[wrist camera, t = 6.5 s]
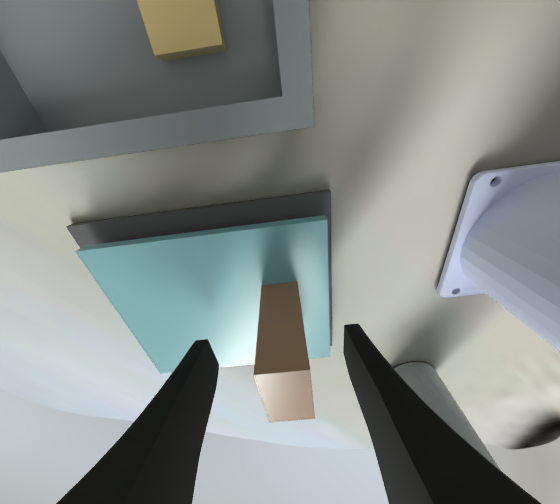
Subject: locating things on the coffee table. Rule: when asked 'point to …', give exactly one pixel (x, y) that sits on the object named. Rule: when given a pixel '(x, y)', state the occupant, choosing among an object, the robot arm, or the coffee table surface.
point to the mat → (210, 221)
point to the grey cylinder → (441, 401)
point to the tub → (147, 75)
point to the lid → (228, 301)
